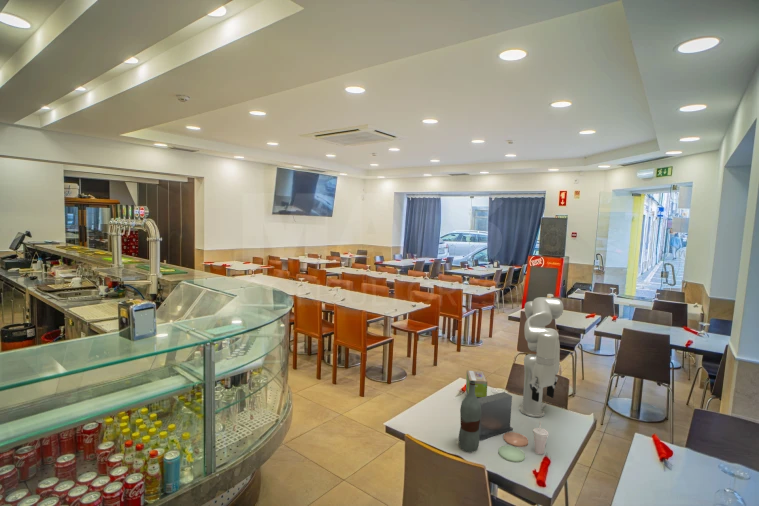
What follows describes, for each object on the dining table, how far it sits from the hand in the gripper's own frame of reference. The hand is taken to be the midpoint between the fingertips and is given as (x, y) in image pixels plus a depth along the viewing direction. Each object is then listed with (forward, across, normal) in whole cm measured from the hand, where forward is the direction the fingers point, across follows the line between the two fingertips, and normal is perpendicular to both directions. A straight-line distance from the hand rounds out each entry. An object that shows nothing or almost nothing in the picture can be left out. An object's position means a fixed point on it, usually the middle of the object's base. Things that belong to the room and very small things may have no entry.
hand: (542, 398), depth 175 cm
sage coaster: (+24, +13, -4) cm, 28 cm away
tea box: (+24, -11, -52) cm, 58 cm away
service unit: (+24, +7, -22) cm, 33 cm away
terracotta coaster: (+24, +2, -11) cm, 27 cm away
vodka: (+25, +26, -17) cm, 39 cm away
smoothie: (+25, 0, 0) cm, 25 cm away
